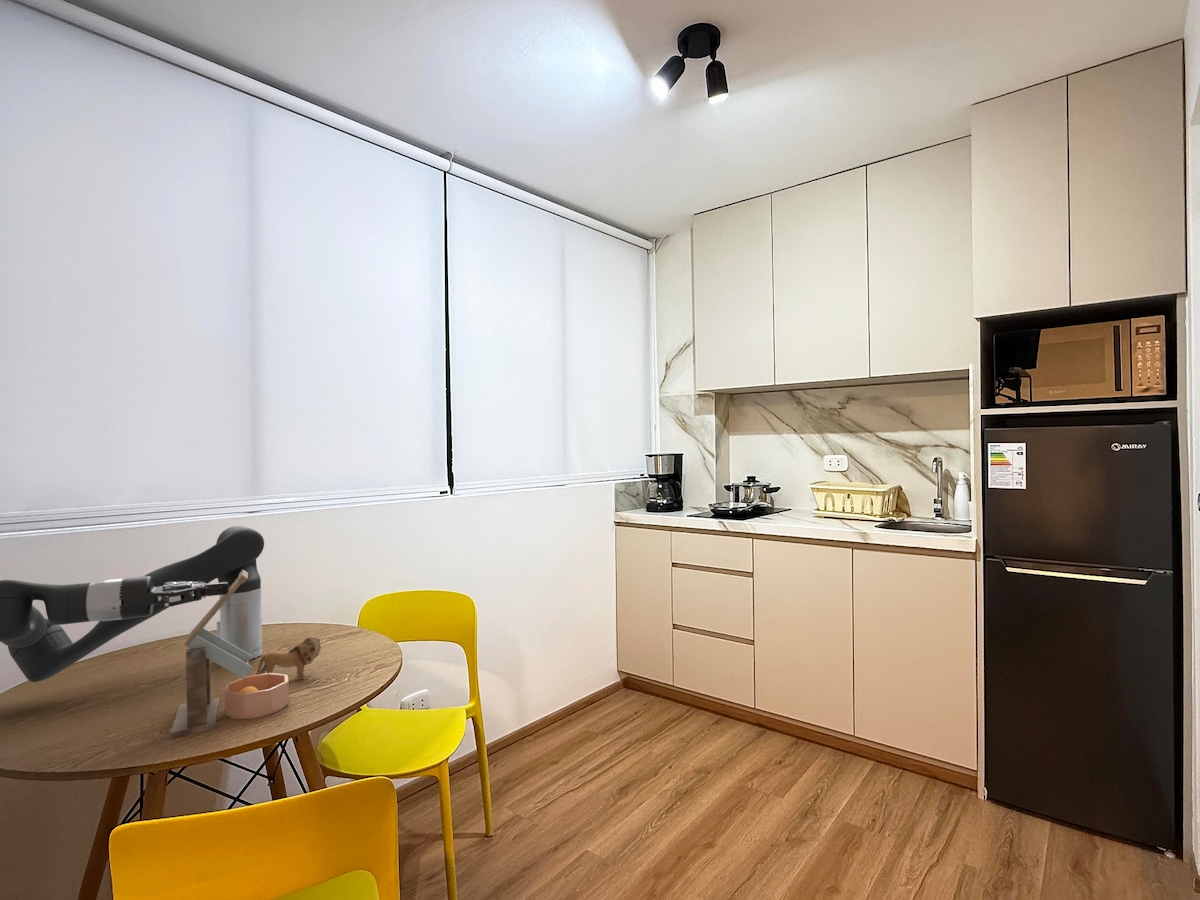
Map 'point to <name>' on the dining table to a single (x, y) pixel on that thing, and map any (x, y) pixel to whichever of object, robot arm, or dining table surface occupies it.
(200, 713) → the stand
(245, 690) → the ball
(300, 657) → the lion figurine
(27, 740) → the dining table surface
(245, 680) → the bowl
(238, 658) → the tipping tray
